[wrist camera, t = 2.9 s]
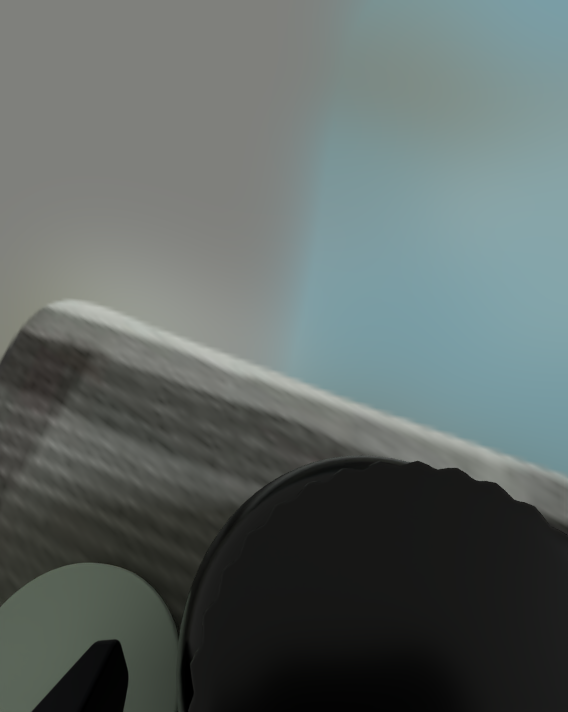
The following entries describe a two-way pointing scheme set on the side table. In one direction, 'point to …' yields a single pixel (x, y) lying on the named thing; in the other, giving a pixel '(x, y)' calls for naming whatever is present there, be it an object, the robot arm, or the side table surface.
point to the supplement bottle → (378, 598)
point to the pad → (86, 635)
